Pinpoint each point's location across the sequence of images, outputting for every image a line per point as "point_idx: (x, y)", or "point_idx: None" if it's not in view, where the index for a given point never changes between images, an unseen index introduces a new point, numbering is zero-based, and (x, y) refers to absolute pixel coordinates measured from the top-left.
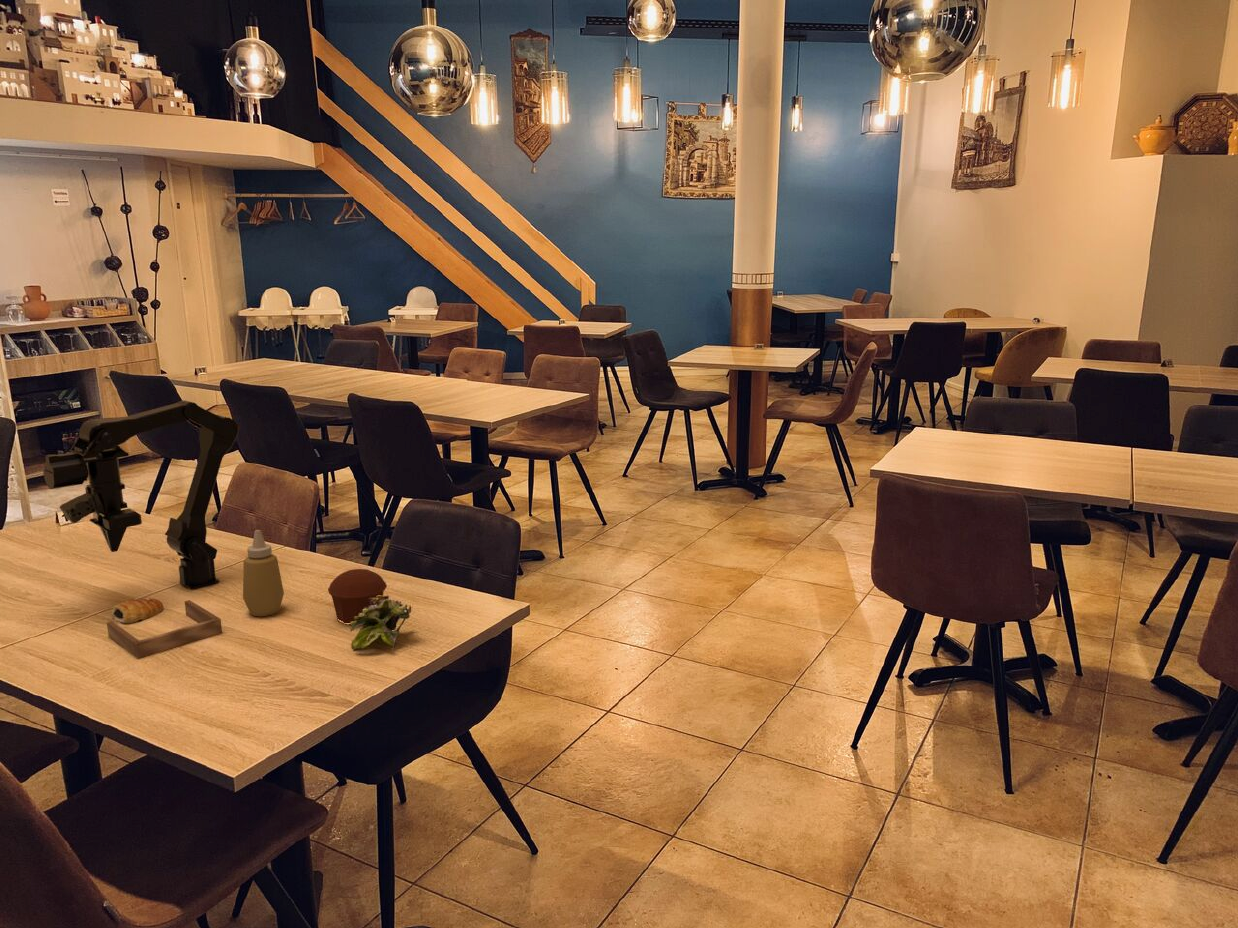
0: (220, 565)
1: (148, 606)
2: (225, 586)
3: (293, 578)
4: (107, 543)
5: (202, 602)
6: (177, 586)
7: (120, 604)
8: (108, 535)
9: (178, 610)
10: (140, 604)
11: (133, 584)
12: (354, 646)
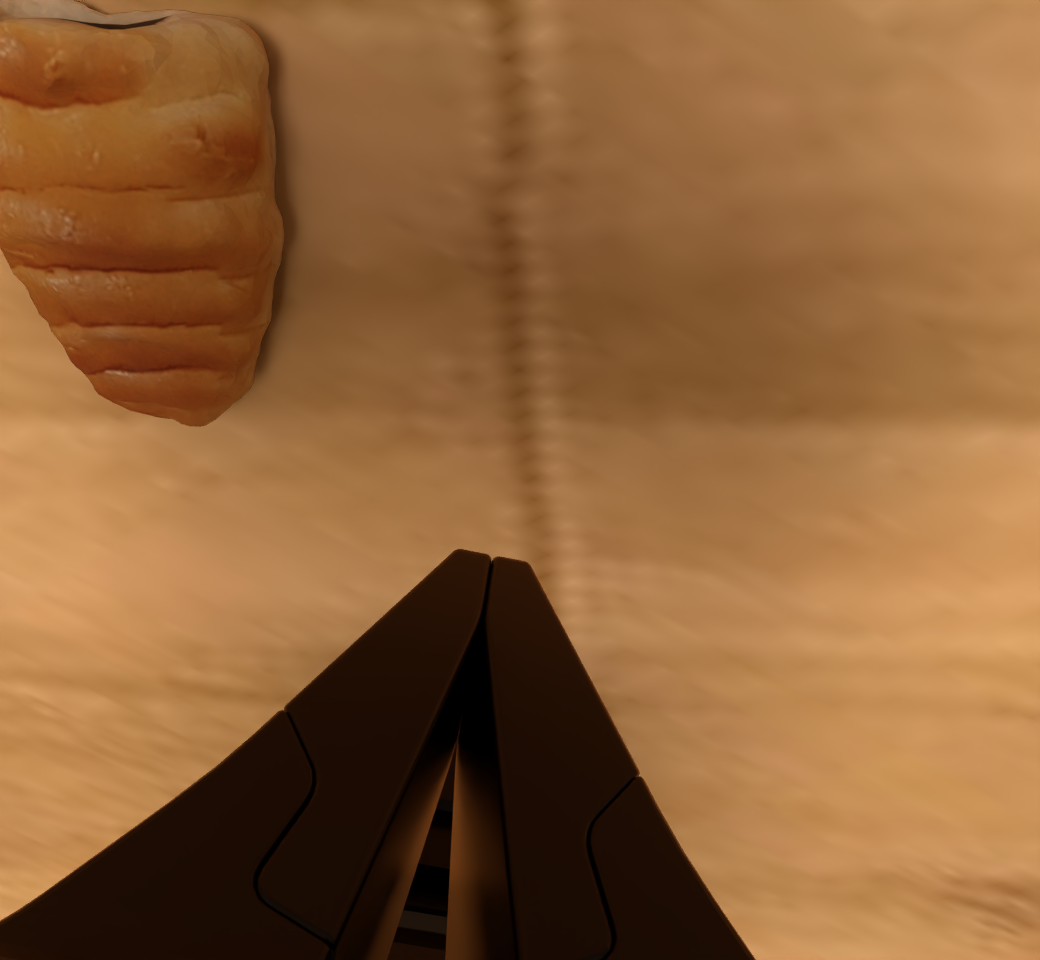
0: None
1: (23, 274)
2: None
3: None
4: (554, 646)
5: (97, 586)
6: None
7: (46, 65)
8: (186, 794)
9: (55, 431)
10: (5, 222)
11: (857, 570)
12: None
